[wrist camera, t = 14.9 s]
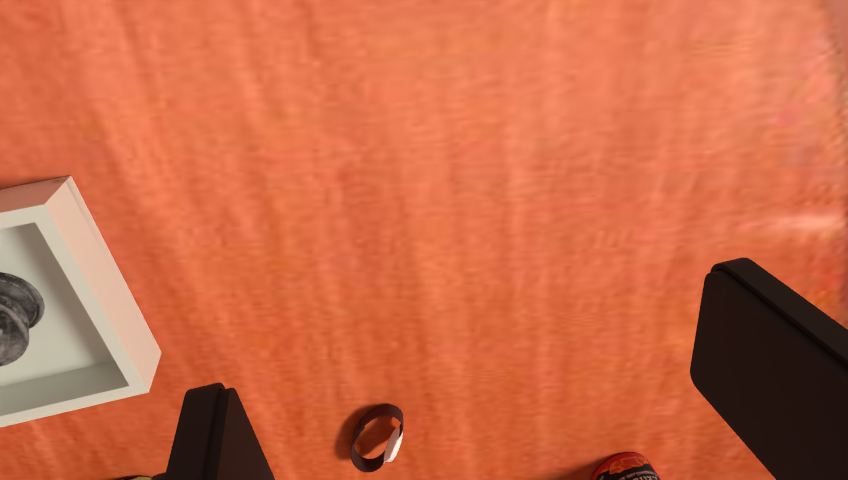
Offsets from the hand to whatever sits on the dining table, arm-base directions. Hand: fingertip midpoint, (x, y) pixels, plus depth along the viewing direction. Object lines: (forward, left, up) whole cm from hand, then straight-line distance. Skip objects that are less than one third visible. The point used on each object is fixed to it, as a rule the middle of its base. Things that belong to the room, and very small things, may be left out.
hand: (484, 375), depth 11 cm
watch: (+35, -5, -31) cm, 47 cm away
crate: (+12, -28, -30) cm, 43 cm away
